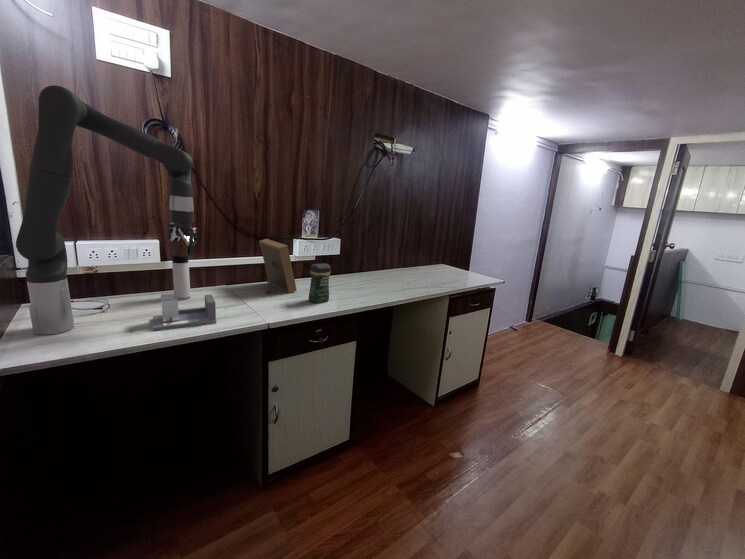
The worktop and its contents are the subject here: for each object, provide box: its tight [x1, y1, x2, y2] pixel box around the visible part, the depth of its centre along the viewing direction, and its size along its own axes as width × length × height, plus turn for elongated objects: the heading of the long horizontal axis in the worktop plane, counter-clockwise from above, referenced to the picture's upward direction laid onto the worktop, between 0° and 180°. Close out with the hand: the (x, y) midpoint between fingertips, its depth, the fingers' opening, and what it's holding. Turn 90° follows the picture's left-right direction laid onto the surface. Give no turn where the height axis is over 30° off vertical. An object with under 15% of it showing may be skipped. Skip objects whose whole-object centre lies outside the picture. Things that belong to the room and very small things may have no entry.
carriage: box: [160, 293, 179, 323], centre depth 120 cm, size 5×9×9 cm, turn 33°
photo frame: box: [258, 238, 297, 294], centre depth 170 cm, size 15×22×25 cm
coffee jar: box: [308, 262, 332, 304], centre depth 159 cm, size 10×8×19 cm
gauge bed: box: [152, 294, 217, 332], centre depth 123 cm, size 20×12×8 cm, turn 123°
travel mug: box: [171, 254, 191, 301], centre depth 145 cm, size 6×7×20 cm
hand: (182, 253), depth 122 cm, fingers open, 8 cm apart
